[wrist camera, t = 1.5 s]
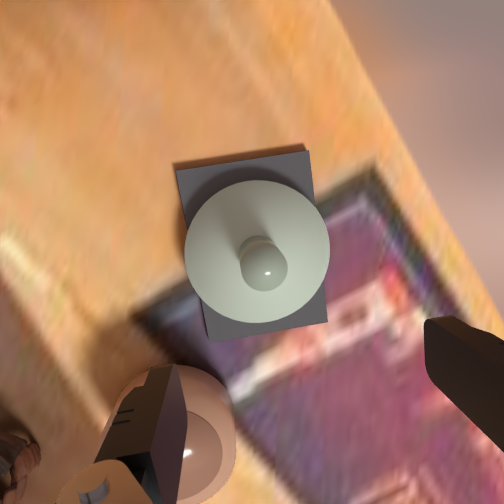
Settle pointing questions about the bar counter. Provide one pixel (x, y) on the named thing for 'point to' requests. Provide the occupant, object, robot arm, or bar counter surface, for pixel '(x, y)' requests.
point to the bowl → (199, 434)
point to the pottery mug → (17, 464)
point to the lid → (257, 251)
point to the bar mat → (223, 175)
